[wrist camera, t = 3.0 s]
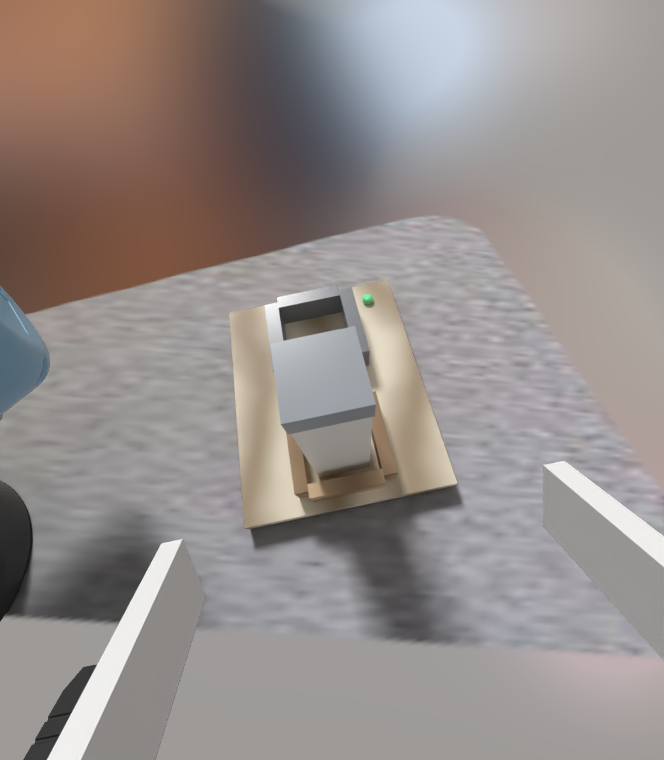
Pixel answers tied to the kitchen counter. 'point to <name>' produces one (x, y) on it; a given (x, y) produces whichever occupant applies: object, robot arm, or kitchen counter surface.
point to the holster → (350, 482)
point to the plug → (326, 399)
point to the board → (404, 429)
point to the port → (316, 312)
